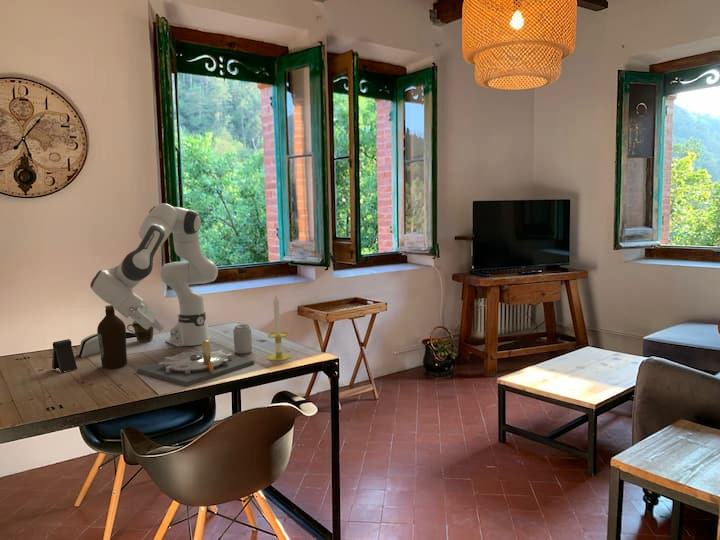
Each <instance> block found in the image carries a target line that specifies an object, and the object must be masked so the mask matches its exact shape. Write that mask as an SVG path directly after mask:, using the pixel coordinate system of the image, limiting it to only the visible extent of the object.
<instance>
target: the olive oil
mask: <svg viewBox="0 0 720 540" xmlns="http://www.w3.org/2000/svg"><path fill="white" fill-rule="evenodd" d="M115 311H116V310H115V308H114V307H113V306H112V305H111V304H110V305H109V304H108V305H105V316H104V317H103V318H102V319H101V321H100V322H98V326H97V328H96V329H97V332H96V333H97V334H98V340H99V347H100V352H99V354H100V360H101V361H100V362H101V368H102V369H105V370H106V369H107V370H112V369H113V370H114V369H119V368H122V367H123V368H124V367H125V366H127V365H128V358H127V357H128V356H127V355H128V354H127V334H126V333H127V330H126V329H127V326H126V324H125V322H124V321H123V319H121V318H119V316H117V315H116V314H115V313H116V312H115Z"/></svg>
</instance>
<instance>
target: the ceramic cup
mask: <svg viewBox="0 0 720 540" xmlns="http://www.w3.org/2000/svg"><path fill="white" fill-rule="evenodd" d="M130 326H132V328H133V330H134V331H133V330H130V329H129V327H130ZM126 329H127V331H129V332H131V333H132V334H134V335H135V337H136V342H137V343H149V342H152V341H153V339H154V330H155V328H153V327H150V328H149V329H148V330H146V329H144V328H143V327H142V326H141V325H139V324H138V323H137V322H136V321H135V320H133V321H132V323H131V324H128V325H127V326H126Z"/></svg>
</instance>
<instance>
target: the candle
mask: <svg viewBox="0 0 720 540" xmlns="http://www.w3.org/2000/svg"><path fill="white" fill-rule="evenodd" d="M273 314H274V315H273V316H274V331H275V332H271V333H269V334H268V335H267V337H268V338H270V339H271V338H272V339H274V340H275V341H274V343H275V344H274V345H275V353H274V354H271V355H268V356H267V357H266V359H267V360H268V361H271V362H272V361H273V362H279V361H287V360H289V359H291V357H292V355H291V354H289V353H283V349H282V348H283V347H282V344H283V343H282V338H286V337H288V335H289V333H288V332H286V331H285V332H283V331H281V317H280V315H281V314H280V301H279V299H278V295H275V297H274V299H273Z"/></svg>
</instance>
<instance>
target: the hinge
mask: <svg viewBox="0 0 720 540" xmlns="http://www.w3.org/2000/svg"><path fill="white" fill-rule="evenodd" d="M79 344H80V345H79V348H78V351H77V352H76V353H75V357H78V356H80V357H81V358H85V357H89V356H92V355H95V354H98V353H99V354H100V347H99V340H98V334H97V332H96V333H92V334H90V335H88V336H86V337H85V338H82V339H81V342H80V343H79Z"/></svg>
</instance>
